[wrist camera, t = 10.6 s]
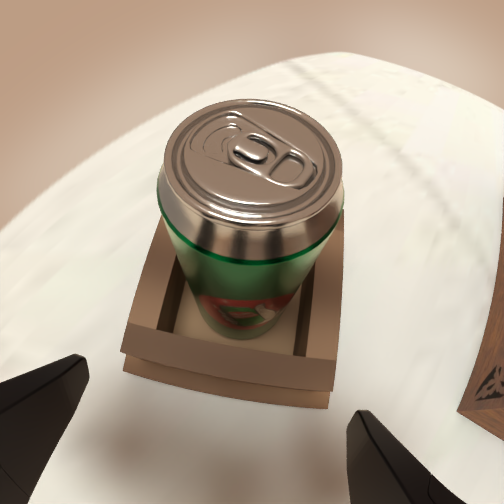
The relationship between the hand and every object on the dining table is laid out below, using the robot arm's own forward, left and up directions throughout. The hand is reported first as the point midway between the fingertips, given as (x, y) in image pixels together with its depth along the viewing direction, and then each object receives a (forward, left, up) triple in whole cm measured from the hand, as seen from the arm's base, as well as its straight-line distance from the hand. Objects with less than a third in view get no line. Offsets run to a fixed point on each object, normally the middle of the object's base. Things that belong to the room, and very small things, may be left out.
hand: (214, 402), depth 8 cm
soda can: (+3, -5, -8) cm, 10 cm away
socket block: (+3, -5, -9) cm, 10 cm away
